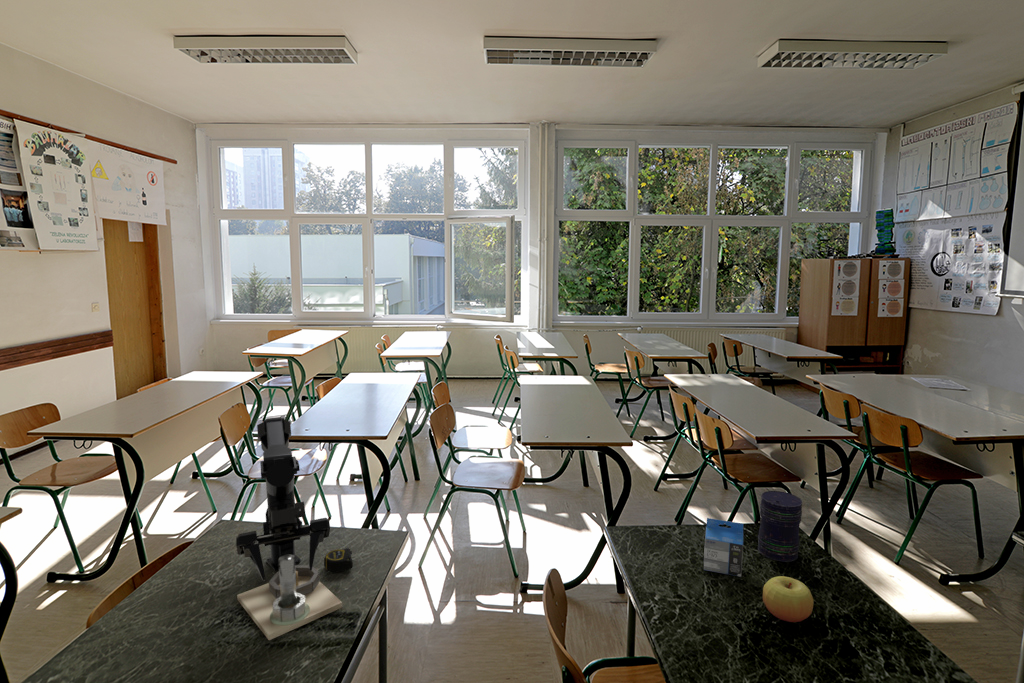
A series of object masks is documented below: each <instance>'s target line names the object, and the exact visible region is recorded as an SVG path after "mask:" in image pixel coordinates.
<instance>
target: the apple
mask: <svg viewBox="0 0 1024 683" xmlns="http://www.w3.org/2000/svg"><path fill="white" fill-rule="evenodd" d="M814 600H815V599H814V597H813V595H812V593H811V590H810V589H809V587H808V586H807V585H805V584H804V583H803V582H802V581H800V580H798V579H795V578H793V577H789V576H780V575H779V576H774V577H772V578H770V579H769V580H768V581H766V582H765V584H764V585H763V588H762V601H763V604H764V606H765V607H766V609H767V610H768V612H769V613H771V614H772V615H773V616H774V617H776V618H777V619H779V620H781V621H785V622H789V623H797V622H799V623H800V622H802V621H804V620H805V619H808V618H809V617H810V615H811V614H812V612H813V610H814V609H813V608H814Z"/></svg>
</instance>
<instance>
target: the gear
mask: <svg viewBox="0 0 1024 683" xmlns="http://www.w3.org/2000/svg"><path fill="white" fill-rule="evenodd" d="M278 562H279V570H278V571H279V577H280V593H281V597H279V598H278V599H276V600H275V601H274V603H273V607H272V608H273V618H274V619H275V620H277V621H279V622H282V623H283V622H289V621H294V619H295V620H297V619H298V618H300V617H301V616H303V615H304V613H305V611H306V597H305V595H302V594H300V593H297V588H296V572H295V565H296V564H295V556H294V555H291V554H288V555H283V556H281V557H280V558H279V559H278ZM293 604H294V607H290V608H286V606H290V605H293Z"/></svg>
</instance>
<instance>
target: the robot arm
mask: <svg viewBox="0 0 1024 683" xmlns="http://www.w3.org/2000/svg"><path fill="white" fill-rule="evenodd" d="M256 429H257V441H258V442H260V444H261V450H262V451H263V452H262V456H263V460H260V461H259V463H260V465H259V466H260V478H261V480H264V481H265V484H266V485H265V486H266V501H267V508H266V512H265V521H264V522H262V526H263V529H262V531H263V534H261V535H257V530H252V531H246V532H242V533H238V535H236V539H235V540H236V541H235V544H236V551H237V552H236V553H237V555H238V556H242V555H244V558H250V560H251V561H252V562H253V564H254V565H255V567H256V569H257V571H258V574H259V575H260V578H261V579H262V582H266V576H265V575H266V574H265V568H264V563H263V558H262V554H261V548H260V545H264V547H268V546H270V548H269V549H270V557H269V558H267V559H266V560H265V561H266V563H267V564H268V565H269V566H270V567H271V568H272V569H273V570H274V571H277V572H278V571H279V562H278V559H279V558H280V557H281V556H283V555H288V554H291V555H294V556H295V565H297V564H298V563H300V562H301V558H300V557H298V556H297V555H296V546H295V545H296V544H295V541H300V540H301V537H306V536H307V537H308V536H309V550H308V553H309V554H308V565H309V568H310V571H312V567H314V560H315V554H316V552H317V549H318V546H319V544H320V543H322V542H324V539H327V538H328V537H330V531H331V525H330V519H328V518H327V517H322V518H317V519H311V520H310V521H309V525H308V526H303V521H302V520H300V519H301V518H304V517H306V507H305V501H299V502H296V500H295V499H296V497H295V490H294V489H295V475H297V474H298V472H300V464H299V460H298V459H297V457H296V456H293V454H292V453H293V452H292V449H291V448H290V447H289V446H290V444H289V443H290V442H289V441H290V440H289V439H290V438H291V437H292V428H291V421H290V420H287V419H285V418H284V417H282V416H281V417H279V416H278V417H269V418H266V419H263V421H262V422H260V423H259V424H257V426H256Z"/></svg>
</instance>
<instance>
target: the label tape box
mask: <svg viewBox="0 0 1024 683" xmlns="http://www.w3.org/2000/svg"><path fill="white" fill-rule="evenodd" d="M720 525H721V526H720ZM722 525H726V526H729V527H725V526H722ZM704 538H705V539H704V551H703V552H704V553H703V570H704V571H706V572H707V571H708V572H713V573H720V574H723V575H724V574H725V575H731V576H736V577H740V578H742V571H743V570H742V569H743V556H744V553H743V552H744V523H740V522H735V521H728V520H722V519H716V518H711V517H707V518H706V526H705V536H704Z"/></svg>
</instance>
